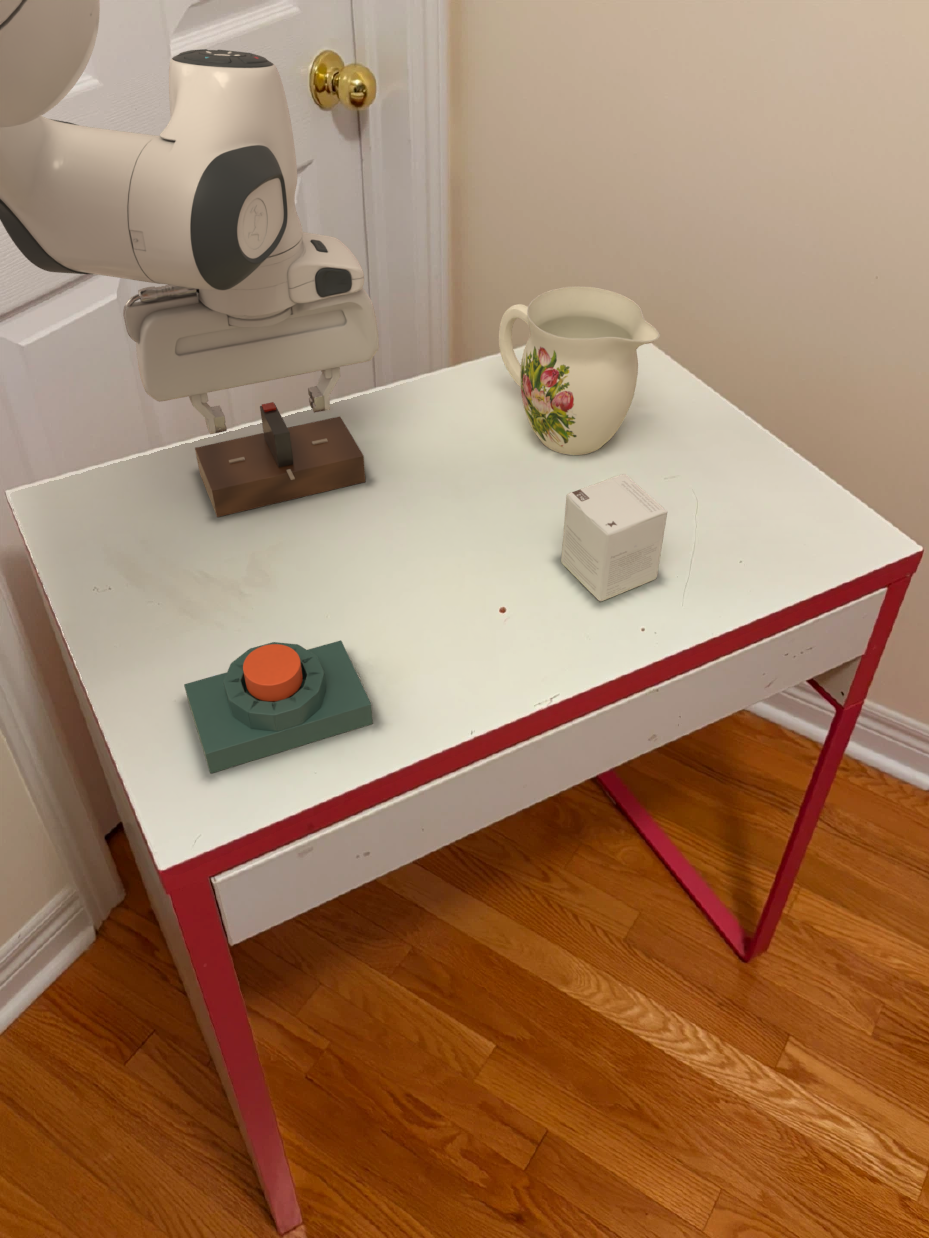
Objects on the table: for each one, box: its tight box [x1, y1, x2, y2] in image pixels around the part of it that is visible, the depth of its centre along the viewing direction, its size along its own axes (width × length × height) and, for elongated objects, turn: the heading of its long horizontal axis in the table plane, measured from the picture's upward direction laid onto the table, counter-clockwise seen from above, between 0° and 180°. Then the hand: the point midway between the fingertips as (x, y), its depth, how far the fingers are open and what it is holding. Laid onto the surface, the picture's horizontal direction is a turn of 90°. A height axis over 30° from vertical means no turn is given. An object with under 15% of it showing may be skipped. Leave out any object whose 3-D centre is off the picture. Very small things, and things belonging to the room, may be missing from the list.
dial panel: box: [194, 415, 366, 518], centre depth 97 cm, size 14×9×3 cm, turn 113°
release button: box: [243, 644, 303, 702], centre depth 74 cm, size 4×4×2 cm
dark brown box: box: [259, 401, 294, 467], centre depth 95 cm, size 5×1×4 cm, turn 23°
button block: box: [183, 640, 374, 774], centre depth 76 cm, size 12×7×4 cm, turn 113°
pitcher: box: [498, 285, 661, 456], centre depth 99 cm, size 11×18×14 cm, turn 45°
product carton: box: [560, 473, 668, 602], centre depth 87 cm, size 6×6×7 cm
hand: (269, 418), depth 93 cm, fingers open, 8 cm apart
